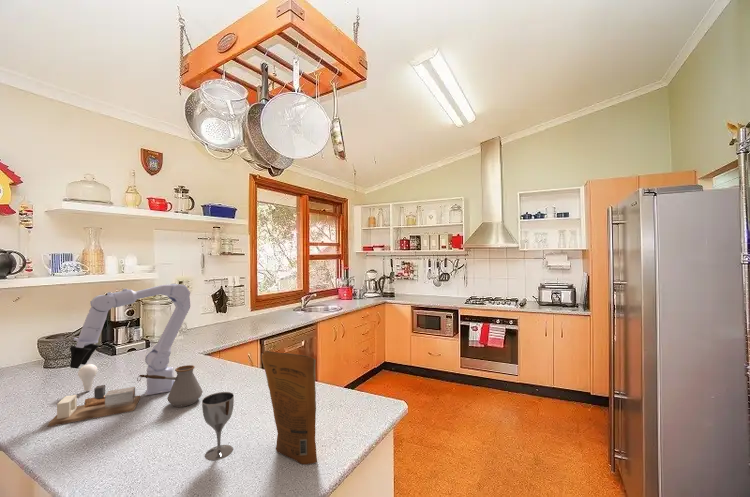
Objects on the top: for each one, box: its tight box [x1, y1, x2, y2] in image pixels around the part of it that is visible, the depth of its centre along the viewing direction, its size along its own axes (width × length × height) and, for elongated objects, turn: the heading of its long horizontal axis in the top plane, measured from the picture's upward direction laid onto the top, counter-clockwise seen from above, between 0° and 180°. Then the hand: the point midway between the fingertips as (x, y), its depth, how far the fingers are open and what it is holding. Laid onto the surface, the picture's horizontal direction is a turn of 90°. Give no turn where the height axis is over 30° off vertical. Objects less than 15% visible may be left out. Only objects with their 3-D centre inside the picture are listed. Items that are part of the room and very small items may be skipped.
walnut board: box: [47, 394, 141, 427], centre depth 119 cm, size 23×12×1 cm, turn 116°
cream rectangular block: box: [56, 394, 78, 419], centre depth 115 cm, size 3×7×5 cm, turn 26°
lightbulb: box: [77, 363, 99, 392], centre depth 137 cm, size 6×6×11 cm
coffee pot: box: [136, 364, 204, 408], centre depth 121 cm, size 21×12×15 cm, turn 148°
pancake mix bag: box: [261, 350, 318, 466], centre depth 90 cm, size 7×19×28 cm, turn 54°
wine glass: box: [201, 391, 235, 461], centre depth 92 cm, size 8×8×15 cm
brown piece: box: [83, 384, 106, 408], centre depth 121 cm, size 14×3×6 cm, turn 116°
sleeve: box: [105, 386, 136, 409], centre depth 122 cm, size 8×5×5 cm, turn 116°
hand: (78, 366), depth 118 cm, fingers open, 7 cm apart
